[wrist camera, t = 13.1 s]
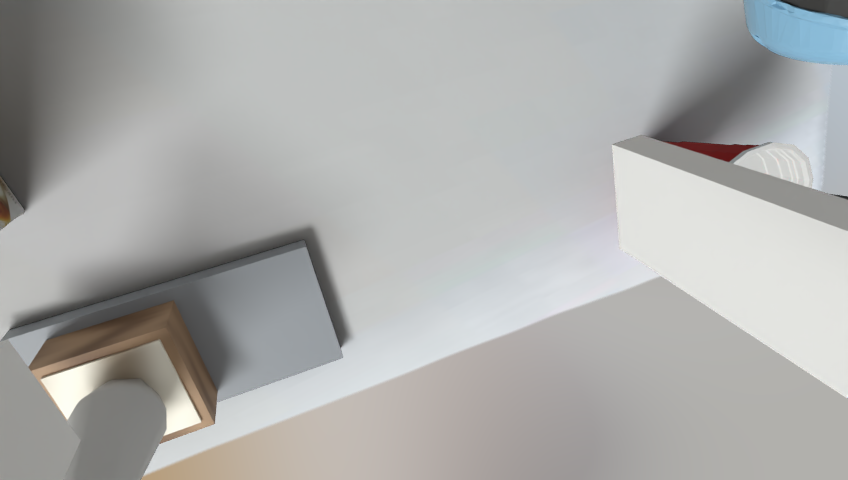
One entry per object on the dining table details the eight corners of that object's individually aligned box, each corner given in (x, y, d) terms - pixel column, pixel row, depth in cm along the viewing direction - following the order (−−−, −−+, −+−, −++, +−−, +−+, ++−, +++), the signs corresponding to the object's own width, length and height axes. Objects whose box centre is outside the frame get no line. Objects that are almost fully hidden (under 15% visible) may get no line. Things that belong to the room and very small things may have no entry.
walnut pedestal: (173, 300, 40) (165, 328, 36) (217, 391, 43) (214, 425, 40) (45, 340, 38) (23, 374, 34) (103, 431, 42) (88, 471, 38)
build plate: (304, 239, 42) (305, 246, 41) (340, 348, 47) (343, 357, 46) (8, 330, 38) (0, 341, 37) (80, 439, 43) (75, 452, 42)
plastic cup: (596, 235, 51) (687, 291, 40) (605, 122, 47) (710, 151, 36) (689, 218, 53) (798, 266, 43) (706, 110, 49) (831, 134, 39)
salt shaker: (59, 410, 36) (-33, 594, 24) (115, 351, 35) (49, 509, 24) (136, 447, 38) (87, 628, 27) (190, 392, 38) (163, 552, 27)
